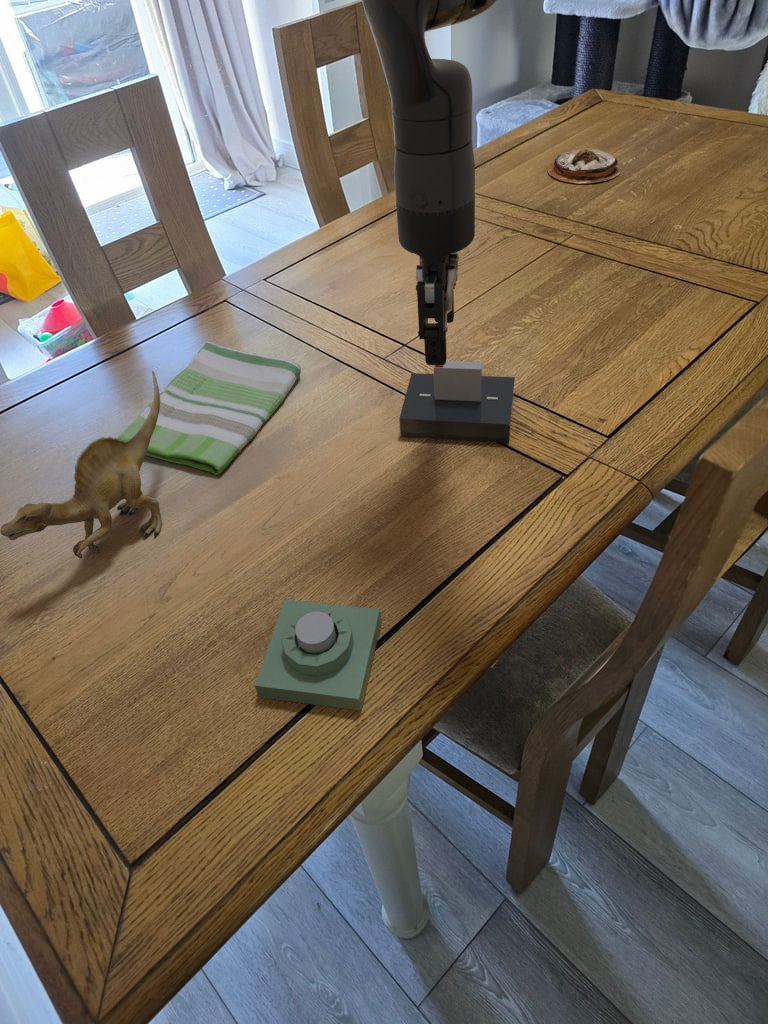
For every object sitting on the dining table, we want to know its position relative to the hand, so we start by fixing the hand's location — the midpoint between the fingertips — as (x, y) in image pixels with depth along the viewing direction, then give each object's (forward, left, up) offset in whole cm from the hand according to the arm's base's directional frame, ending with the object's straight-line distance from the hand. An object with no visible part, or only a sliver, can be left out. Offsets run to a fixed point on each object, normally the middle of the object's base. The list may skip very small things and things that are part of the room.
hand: (440, 341), depth 77 cm
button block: (+8, +32, -16) cm, 37 cm away
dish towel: (+33, -5, -16) cm, 37 cm away
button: (+8, +32, -12) cm, 35 cm away
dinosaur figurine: (+35, +16, -16) cm, 42 cm away
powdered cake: (-18, -91, -16) cm, 94 cm away
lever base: (-1, -7, -16) cm, 17 cm away
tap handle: (-1, -7, -13) cm, 14 cm away
